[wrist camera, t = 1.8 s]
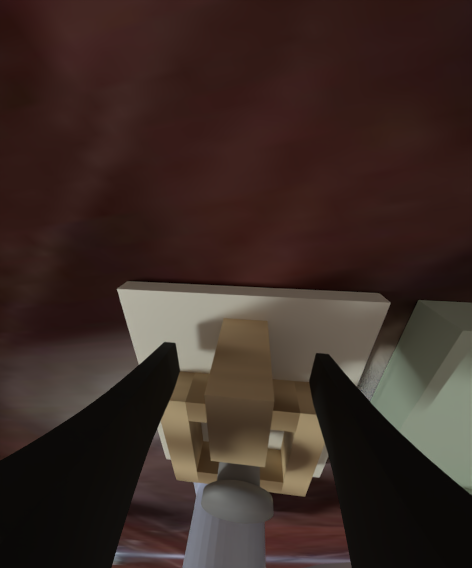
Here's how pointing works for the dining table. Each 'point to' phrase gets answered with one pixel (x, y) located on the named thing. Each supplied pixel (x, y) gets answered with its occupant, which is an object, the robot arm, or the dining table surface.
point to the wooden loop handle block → (243, 415)
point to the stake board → (283, 349)
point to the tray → (433, 386)
